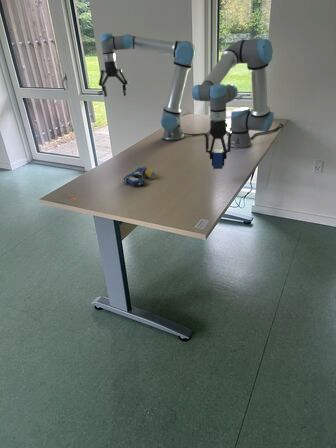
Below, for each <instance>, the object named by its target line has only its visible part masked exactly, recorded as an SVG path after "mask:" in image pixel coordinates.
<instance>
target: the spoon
mask: <svg viewBox="0 0 336 448" xmlns="http://www.w3.org/2000/svg"><path fill="white" fill-rule="evenodd" d="M225 120H226V130H227V131H229V132H230V130H231V129H230V128H231V117H230V118H228V119H225Z"/></svg>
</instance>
